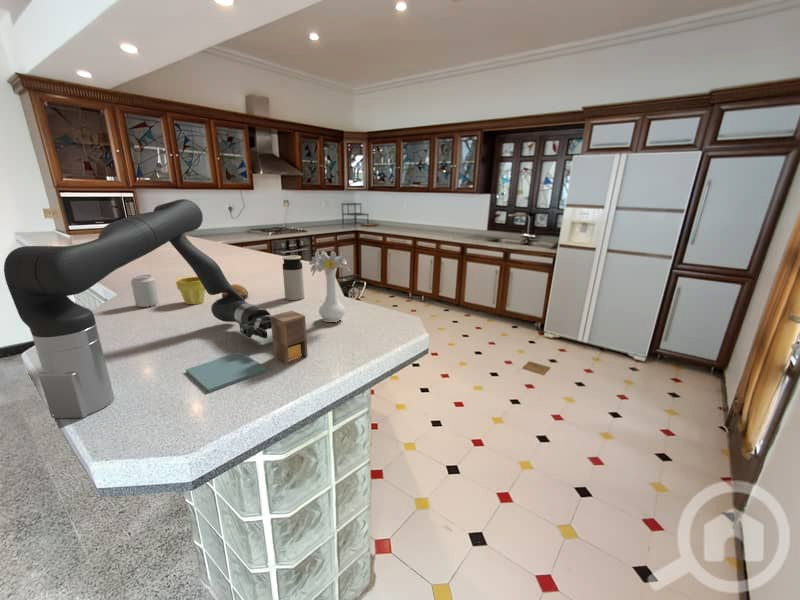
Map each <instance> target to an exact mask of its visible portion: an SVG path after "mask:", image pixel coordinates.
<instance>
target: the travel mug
mask: <svg viewBox="0 0 800 600" xmlns="http://www.w3.org/2000/svg"><path fill="white" fill-rule="evenodd" d="M301 258H302V256H301V255H286V256H285V255H284V256H282V259H283V263H282V275H283V276H282V277H283V286H284V287H283V288H284V298H285V300H287V301H299V299H300V300H303V299H304V298H305V287H304V285H305V283H304V273H303V272H304V270H303V263H302V261H301V260H302V259H301Z"/></svg>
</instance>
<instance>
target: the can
mask: <svg viewBox="0 0 800 600" xmlns="http://www.w3.org/2000/svg"><path fill="white" fill-rule="evenodd" d="M130 283H131V288H132V293H133V296H134V304H135V306H137V307H138V308H140V307H148V308H150V307H149V306H153V307H155V306H154V305H156V304H157V305H158V304H160V303H159V302H160V300H159V296H158V289H157V285H156V279H155V278H154V277H153V275H152V274H139V275H134V276H132V279H131V281H130ZM157 305H156V306H157Z"/></svg>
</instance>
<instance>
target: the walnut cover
mask: <svg viewBox="0 0 800 600" xmlns="http://www.w3.org/2000/svg"><path fill="white" fill-rule="evenodd" d="M271 315H272V314H271ZM271 326H272V328H271V335H272V336H271V337H272V346H273V357H274V358H275V359H277V358H278V359H277V360H278V361H280V360H281V361H280V362H282V361H283V362H282V363H284V362H285V363H286V364H285V363H284V364H285V365H289V364H290V361H289V357H288V346H290V345H293V344H296V343H300V344H301V354H302V355H304V356H308V355H309V354H308V340H307V325H306V315H304V314H301V313H299V312H297V311H294V310H290V311H289V310H288V311H285V312H280V313H277V314H273V315H272V316H271ZM302 355H301V356H302ZM304 356H303V357H304ZM288 363H289V364H288Z"/></svg>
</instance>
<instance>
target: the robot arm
mask: <svg viewBox="0 0 800 600" xmlns="http://www.w3.org/2000/svg"><path fill="white" fill-rule="evenodd" d="M203 217H204V215H203V212H202V209H201V208H200V207H199V205H197V204H196V203H195V202H193V201H192V200H190V199H186V198H185V199H184V198H183V199H182V198H180V199H176V200H173V201H169V202H165V203H162V204H159V205H156V206H155V207H154V208H153V211H148V212H144V213H139V214H134V215H131V216H126V217H123V218H121V219H118V220H115V221H112V222H110V223H108V224H107V225H105V226H104V227H103V228H102V229H101V230H100V232H99V235H98V238H96V239H94V240H90V241H87V242H83V243H80V244H75V245H66V246H65V245H64V246H63V245H62V246H61V245H60V246H59V245H57V246H56V245H27V246H25V245H23V246H20V247H17V248H15V249H13V250H11V251H10V252H9V254H8V255H7V256H6V258H5V260H4V263H3V264H4V265H3V275H4V279H5V283H6V285H7V288H8V291H9V293H10V296H11V299H12V301H13V304H14V306H15V308H16V311H17V314H18V316H19V318H20V319H21V321H22V322H23V323H24V325H26V326H27V327H28V328H29V331H30V333H31V336H32V340H33V343H34V347H35V350H36V354H37V357H38V358H39V363H40V366H41V368H42V369H41V370H42V373H40V374H39V376H38V378H39V381H40V384H41V389H42V390H43V393H44V396H45V400H46V403H47V406H48V410H49V413H50V416H51V418H52V419H74V418H75V419H80V418H86V417H88V415H90V414H93V413H96V412H99V410H102V409H104V408H105V406H106V407H107V406H109V405H110V404H112V402H113V401H114V399H115V394H114V392H113V391H114V390H113V387H112V382H111V380H110V379H111V378H110V375H109V371H108V367H107V362H106V359H105V354H104V350H103V346H102V343H101V338H100V334H99V329H98V326H97V323H96V318H95V314H94V313H93V311H92V310H91V309H90V308H87V307H85V306H82V305H80V304H78V303H76V302H74V301H72V300H71V299H70V297H69V296H75V295H78V294H81V293H84V292H85V291H87V290H89V289H90V288H92V287H93V286H95V285H96V284H98V283H99V282H100V281H102V280H104V278H106V277H107V276H109V275H110V274H111V273H113V272H115V271H116V270H119V269H120V268H122V267H124V266H126V265H127V264H129V263H132V262H134V261H135V260H137V259H140V258H142V257H144V256H146V255H147V254H149V253H151V252H154V251H156V249H158V248H160V247H162V246H163V245H165V244H167V243H168V242H170V244H171V245H172V247H173V248H174V249H175V250H176V251H177V253H178V254H180V256H181V257H182V258H183V259H184V260H185V262H186V263H187V264H188V266H190V268H191V269H192V270H193V272H194V273H195V275H196V277H198V278H199V280H200V281H201V283H202V285H203V286H204V288H205V292H206V293H207V294H209V295H210V296H215V295H219V294H222V293H223V292H226V293H227V295H226V296H225V297H223V298H222V297H221V298H219V299H217V300H216V301H214V302H213V303H212V305H211V307H210V309H211V310H210V311H211V313H212V316H213V317H215V318H216V319H217V320H219V321H222V322H226V323H227V322H228V323H236V324H238V325H239V332H240V333H241V335H244V336H245V337H247V338H251V337H253V336H255V337H259V338H260V339H267V338H268V331H267V330H272V326H271V316H272V314H271V313H270V312H269V311H268V310H267V309H265V308H263V307H261V306H258V305H256V304H254V303H249V302H247V301H246V299H245V300H244V298H243V297H242V296H241V295H240V294H239V293H238V292H237V291H236V290H235V289H234V288H233V287H232V286H231V285H232V284H230V282H229V280H227V278H226V276H225V274H224V272H223V271H222V269H221V267H220V266H219V264H218V263H217V262H216V261H215V260H214V259H213V258H211V257H210V256H208V254H206V253H204V252H203V251H202V250H200V249H199V248H198V247H196V246H195V245H194V244H193V243H192V242H191V241H190V240H189V239H188V238H187V236H186V234H185V233H189V232H194V231H196V230H198V229H199V228H200V227H201V225H202V223H203V221H204V218H203ZM52 414H53V415H54V416H53V415H52Z"/></svg>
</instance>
